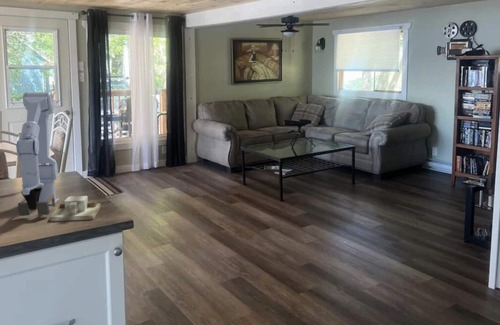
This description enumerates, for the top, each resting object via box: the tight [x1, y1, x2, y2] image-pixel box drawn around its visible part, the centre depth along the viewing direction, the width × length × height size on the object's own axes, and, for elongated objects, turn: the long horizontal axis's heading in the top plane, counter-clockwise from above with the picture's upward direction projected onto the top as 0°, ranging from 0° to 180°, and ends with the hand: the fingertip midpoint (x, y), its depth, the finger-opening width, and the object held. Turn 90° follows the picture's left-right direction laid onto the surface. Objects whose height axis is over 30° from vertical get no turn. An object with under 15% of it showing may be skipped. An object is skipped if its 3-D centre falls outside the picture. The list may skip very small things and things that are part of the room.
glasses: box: [17, 195, 56, 217], centre depth 177 cm, size 10×11×4 cm
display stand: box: [49, 195, 101, 222], centre depth 177 cm, size 15×15×6 cm
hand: (33, 208), depth 173 cm, fingers closed on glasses, 2 cm apart
